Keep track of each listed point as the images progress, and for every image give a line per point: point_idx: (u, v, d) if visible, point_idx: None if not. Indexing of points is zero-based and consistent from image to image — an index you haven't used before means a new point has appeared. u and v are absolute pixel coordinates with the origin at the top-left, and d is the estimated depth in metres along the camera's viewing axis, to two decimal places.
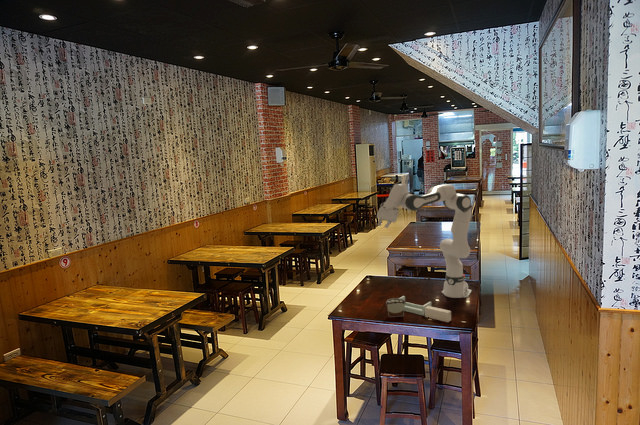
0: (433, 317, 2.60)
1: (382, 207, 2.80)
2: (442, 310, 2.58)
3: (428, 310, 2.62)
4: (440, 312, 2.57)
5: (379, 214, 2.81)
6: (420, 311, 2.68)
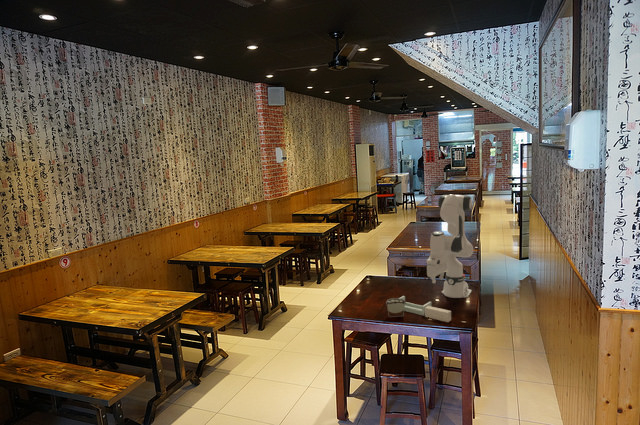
0: (433, 317, 2.60)
1: (438, 264, 2.50)
2: (442, 310, 2.58)
3: (428, 310, 2.62)
4: (440, 312, 2.57)
5: (435, 273, 2.50)
6: (420, 311, 2.68)
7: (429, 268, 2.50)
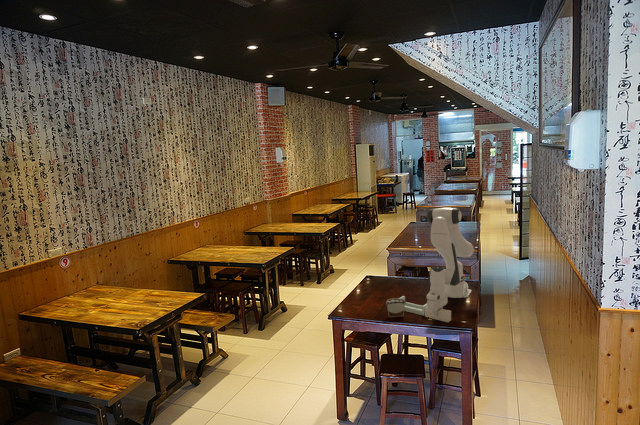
0: (433, 317, 2.60)
1: (438, 299, 2.53)
2: (442, 310, 2.58)
3: None
4: (440, 312, 2.57)
5: (435, 308, 2.53)
6: (420, 311, 2.68)
7: (429, 303, 2.52)
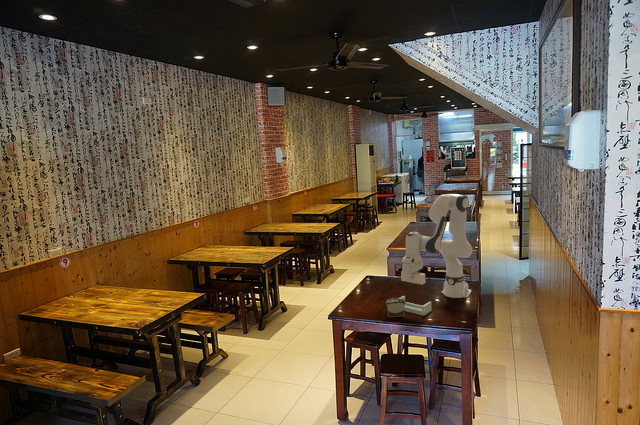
0: (408, 280, 2.73)
1: (412, 263, 2.66)
2: (417, 273, 2.71)
3: None
4: (415, 275, 2.70)
5: (410, 271, 2.66)
6: (420, 311, 2.68)
7: (404, 266, 2.65)
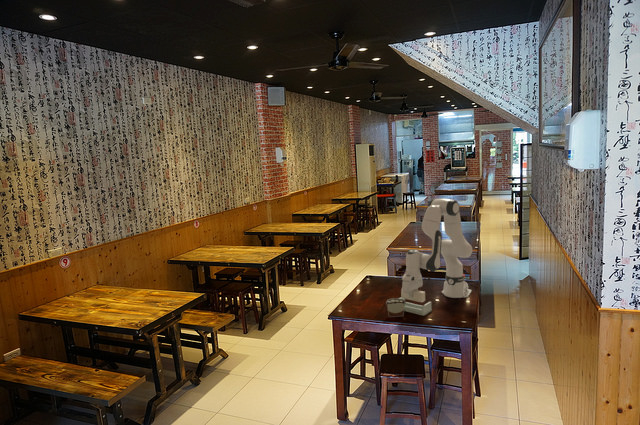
0: (408, 298, 2.75)
1: (412, 281, 2.68)
2: (417, 291, 2.72)
3: None
4: (415, 293, 2.71)
5: (410, 289, 2.68)
6: (420, 311, 2.68)
7: (404, 284, 2.67)
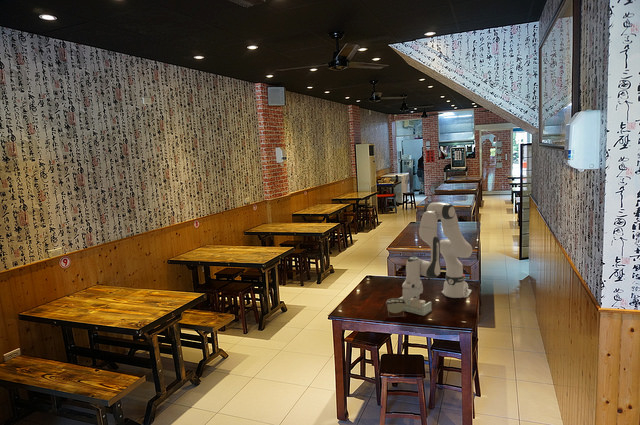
0: None
1: (412, 288, 2.68)
2: (417, 300, 2.73)
3: None
4: (415, 302, 2.72)
5: (410, 296, 2.69)
6: (420, 311, 2.68)
7: (404, 291, 2.68)
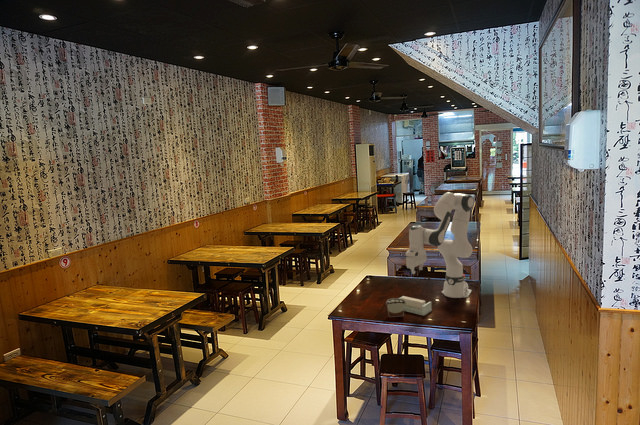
0: None
1: (416, 256, 2.67)
2: (417, 300, 2.73)
3: None
4: (415, 302, 2.72)
5: (414, 264, 2.67)
6: (420, 311, 2.68)
7: (408, 259, 2.66)
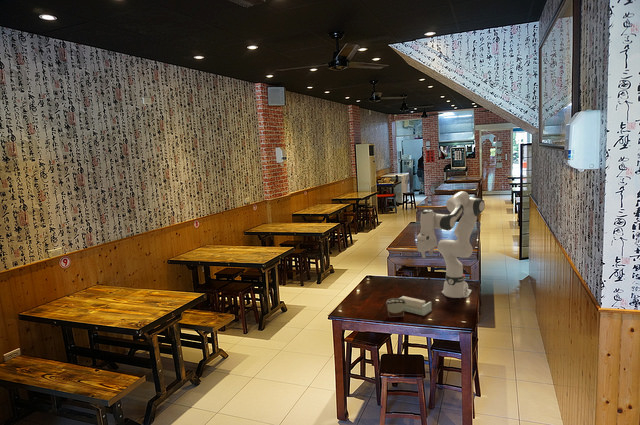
0: None
1: (427, 240, 2.68)
2: (417, 300, 2.73)
3: None
4: (415, 302, 2.72)
5: (424, 248, 2.69)
6: (420, 311, 2.68)
7: (419, 243, 2.68)
